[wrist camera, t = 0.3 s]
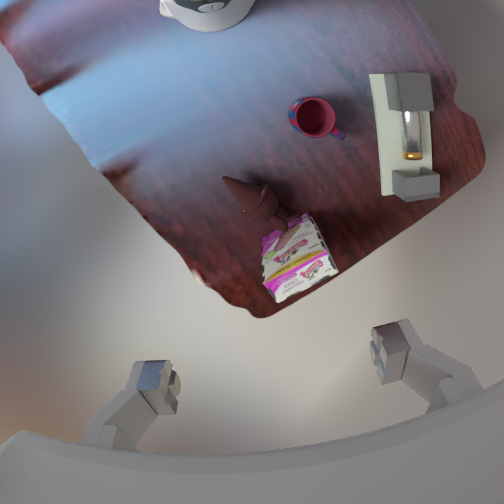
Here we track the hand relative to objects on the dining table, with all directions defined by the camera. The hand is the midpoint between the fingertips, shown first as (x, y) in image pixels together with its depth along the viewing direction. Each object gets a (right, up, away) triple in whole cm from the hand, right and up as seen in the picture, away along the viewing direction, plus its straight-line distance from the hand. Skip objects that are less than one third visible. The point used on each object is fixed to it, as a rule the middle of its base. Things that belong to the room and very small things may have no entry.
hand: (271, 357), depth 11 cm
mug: (+10, +27, +39) cm, 49 cm away
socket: (+31, +19, +43) cm, 56 cm away
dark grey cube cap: (+27, +34, +34) cm, 55 cm away
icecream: (0, +15, +46) cm, 48 cm away
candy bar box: (+7, +8, +49) cm, 50 cm away
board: (+29, +27, +39) cm, 56 cm away
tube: (+28, +29, +37) cm, 55 cm away
